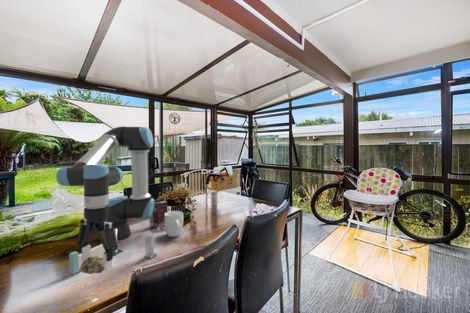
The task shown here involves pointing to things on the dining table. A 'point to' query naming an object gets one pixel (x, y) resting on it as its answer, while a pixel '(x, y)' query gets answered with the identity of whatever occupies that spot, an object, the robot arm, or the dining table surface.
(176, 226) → the mug
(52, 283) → the dining table surface
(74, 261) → the gate
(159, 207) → the supplement box
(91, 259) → the mineral rock
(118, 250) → the hinge post
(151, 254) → the latch post
